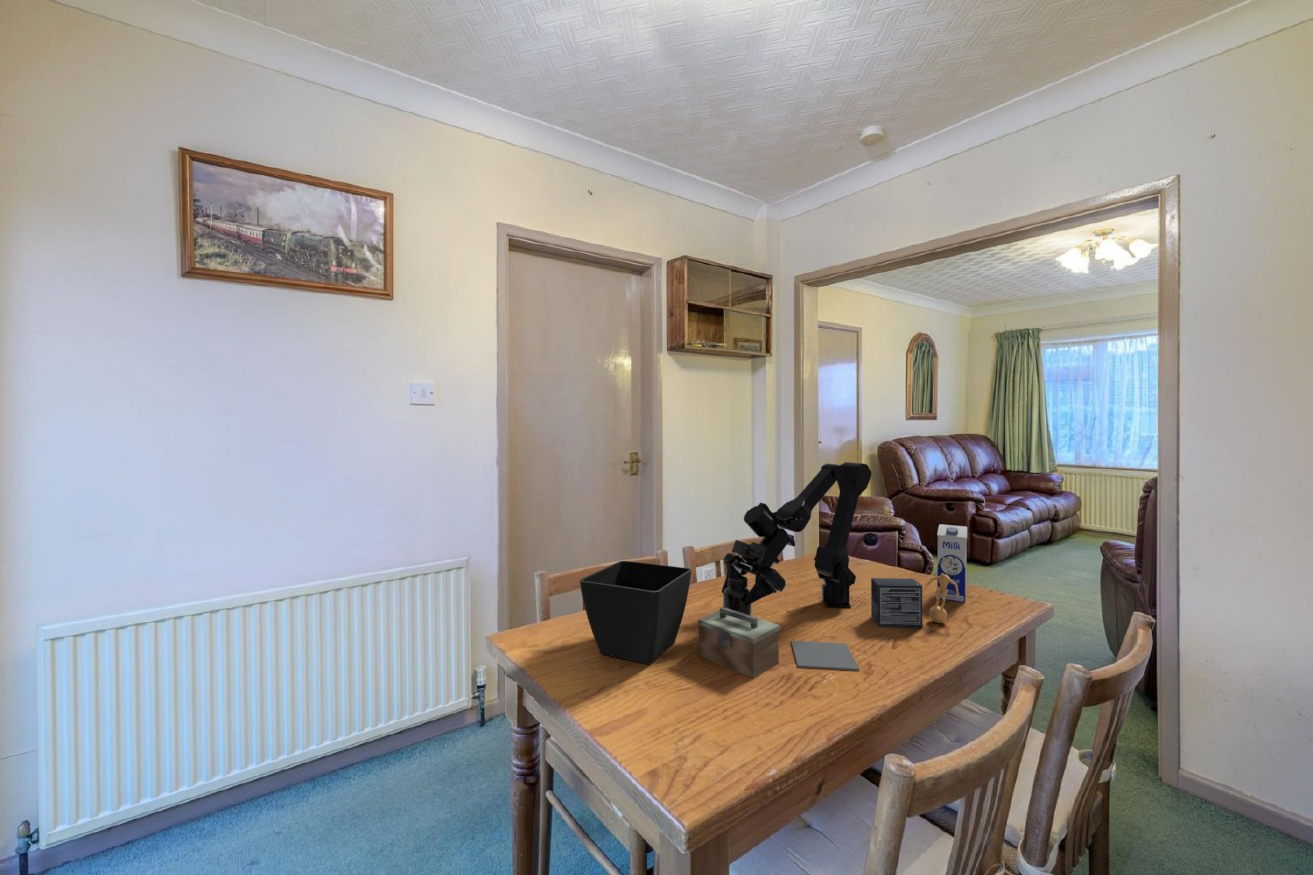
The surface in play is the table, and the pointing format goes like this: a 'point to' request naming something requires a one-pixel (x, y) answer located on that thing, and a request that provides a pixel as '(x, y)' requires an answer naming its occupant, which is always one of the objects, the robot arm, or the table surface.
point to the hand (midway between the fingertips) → (733, 598)
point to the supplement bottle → (737, 594)
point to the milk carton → (952, 559)
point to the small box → (896, 602)
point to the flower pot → (636, 608)
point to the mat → (823, 655)
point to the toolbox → (739, 641)
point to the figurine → (937, 611)
